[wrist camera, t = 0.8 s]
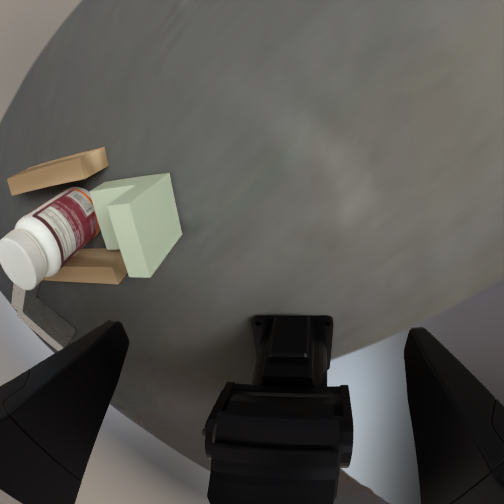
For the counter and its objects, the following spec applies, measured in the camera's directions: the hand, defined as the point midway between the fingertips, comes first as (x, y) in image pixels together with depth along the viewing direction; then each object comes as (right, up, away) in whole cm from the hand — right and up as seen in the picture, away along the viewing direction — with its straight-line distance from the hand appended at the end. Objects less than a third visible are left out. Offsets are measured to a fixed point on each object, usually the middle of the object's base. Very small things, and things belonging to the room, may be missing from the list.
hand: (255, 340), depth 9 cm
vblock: (-24, -3, +21) cm, 32 cm away
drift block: (-8, +6, +13) cm, 16 cm away
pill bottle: (-14, +6, +14) cm, 21 cm away
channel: (-15, +6, +14) cm, 21 cm away
